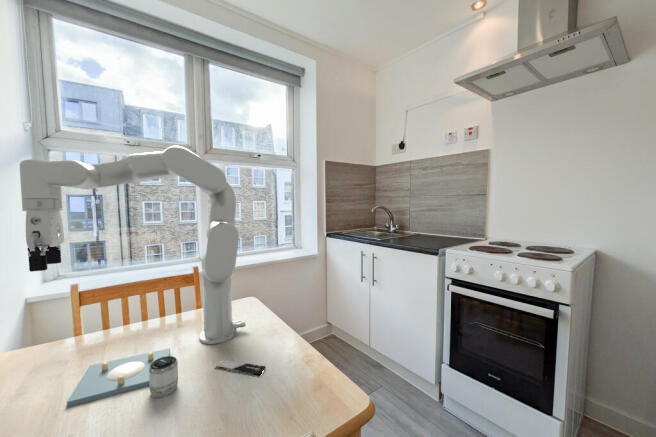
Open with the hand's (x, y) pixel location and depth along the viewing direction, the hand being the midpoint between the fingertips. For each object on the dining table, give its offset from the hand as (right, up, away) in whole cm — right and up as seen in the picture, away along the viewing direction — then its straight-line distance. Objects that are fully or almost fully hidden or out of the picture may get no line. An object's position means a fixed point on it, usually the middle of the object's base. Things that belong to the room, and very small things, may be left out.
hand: (46, 266), depth 73 cm
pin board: (+22, -31, +1) cm, 38 cm away
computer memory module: (+53, -31, +3) cm, 62 cm away
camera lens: (+36, -31, -5) cm, 48 cm away
